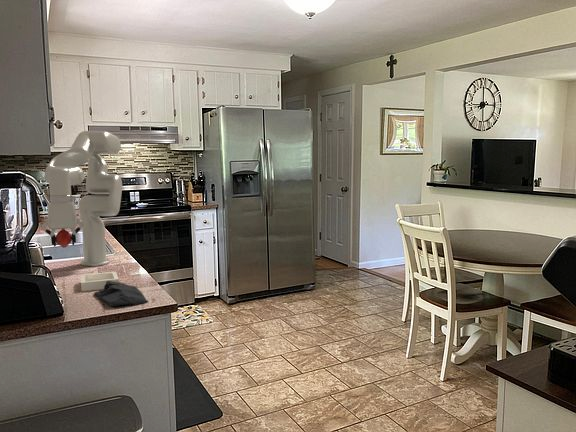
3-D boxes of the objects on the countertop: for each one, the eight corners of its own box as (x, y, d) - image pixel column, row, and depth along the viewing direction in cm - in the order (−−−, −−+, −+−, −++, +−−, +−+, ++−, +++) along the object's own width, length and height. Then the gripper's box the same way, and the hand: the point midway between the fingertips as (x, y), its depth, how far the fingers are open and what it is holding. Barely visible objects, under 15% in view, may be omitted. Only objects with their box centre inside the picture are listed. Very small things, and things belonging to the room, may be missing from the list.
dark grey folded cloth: (103, 311, 149) (102, 297, 149) (93, 294, 168) (92, 281, 167) (151, 304, 157) (150, 290, 156) (136, 288, 176) (135, 276, 175)
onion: (52, 249, 180) (51, 228, 179) (62, 246, 186) (60, 226, 185) (66, 249, 179) (65, 229, 178) (75, 246, 185) (74, 226, 184)
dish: (81, 282, 182) (80, 274, 182) (116, 279, 187) (115, 271, 187) (81, 291, 170) (81, 282, 170) (119, 287, 176) (118, 279, 175)
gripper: (85, 197, 187) (87, 241, 189) (36, 199, 180) (40, 245, 182) (85, 199, 180) (88, 245, 183) (35, 201, 173) (38, 249, 175)
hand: (64, 244), depth 182 cm, fingers closed on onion, 5 cm apart
